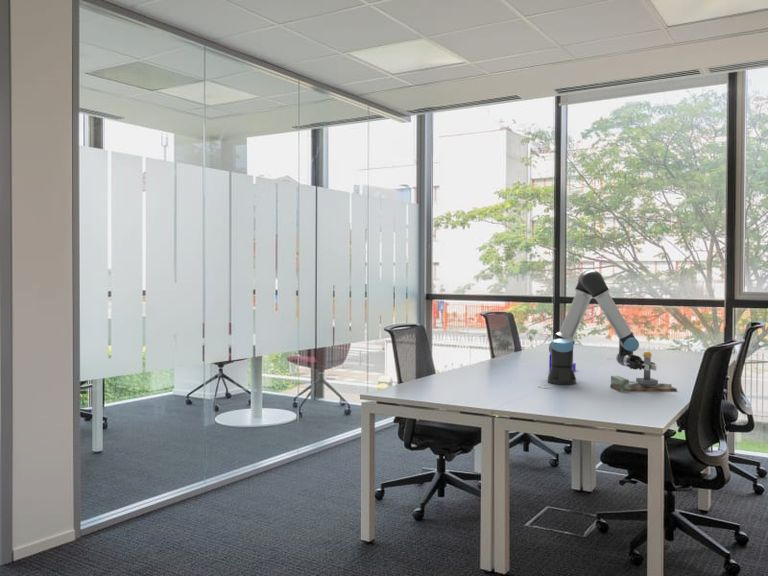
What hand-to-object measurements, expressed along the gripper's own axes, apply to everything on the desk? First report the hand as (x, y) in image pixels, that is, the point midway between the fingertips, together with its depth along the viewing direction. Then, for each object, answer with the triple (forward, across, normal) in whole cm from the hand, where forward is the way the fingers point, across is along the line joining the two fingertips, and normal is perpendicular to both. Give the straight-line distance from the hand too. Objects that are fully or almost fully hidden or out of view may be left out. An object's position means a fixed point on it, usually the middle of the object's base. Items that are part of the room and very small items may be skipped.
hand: (651, 367), depth 349 cm
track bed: (-6, +2, -12) cm, 13 cm away
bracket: (-70, +22, -12) cm, 74 cm away
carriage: (-6, 0, -10) cm, 11 cm away
